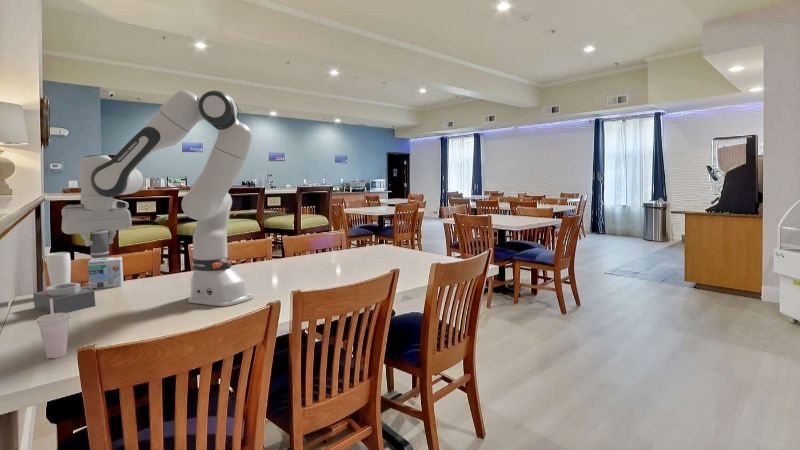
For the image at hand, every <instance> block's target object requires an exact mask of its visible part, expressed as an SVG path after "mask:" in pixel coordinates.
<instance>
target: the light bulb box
mask: <svg viewBox="0 0 800 450" xmlns="http://www.w3.org/2000/svg"><path fill="white" fill-rule="evenodd" d="M123 265H124V264H123V257H122V256H115V257H112V256H111V257H100V258H90V259H89V261H88V262H87V268H88V269H87V271H88V286H89V287H88V288H90V289H89V290H94V289H93V288H96V289H105V288H106V289H108V288H118V287H122V286H123V285H124V283H125V282H124V281H125V280H124V271H123V270H124V267H123Z"/></svg>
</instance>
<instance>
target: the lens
mask: <svg viewBox="0 0 800 450" xmlns="http://www.w3.org/2000/svg"><path fill="white" fill-rule="evenodd" d="M108 237H109V232H108V230H99V231H95V232H89V240H92V241H93V243H92V244H93V245H92V246H89V247H90V257H91V258H92V259H96V258H108V257H109V256H110V249H109V248H110V247H109V246H110V245H109V244H108Z"/></svg>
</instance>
